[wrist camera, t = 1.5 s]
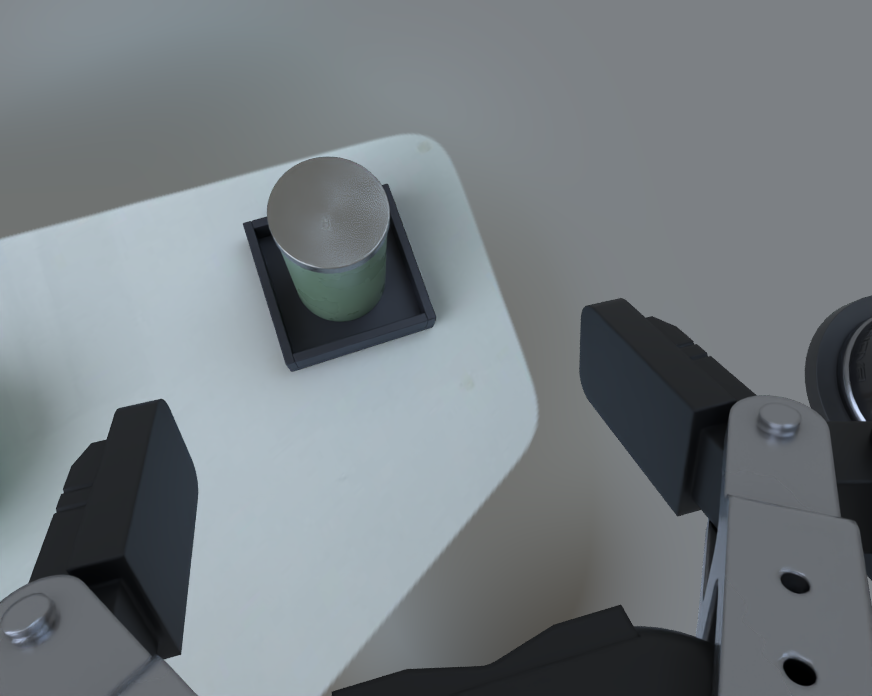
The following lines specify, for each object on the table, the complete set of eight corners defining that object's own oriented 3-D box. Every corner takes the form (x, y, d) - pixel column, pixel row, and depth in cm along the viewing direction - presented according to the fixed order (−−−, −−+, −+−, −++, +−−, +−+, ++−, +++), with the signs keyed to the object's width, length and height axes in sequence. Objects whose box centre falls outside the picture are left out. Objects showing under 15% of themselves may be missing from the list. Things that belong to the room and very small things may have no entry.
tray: (387, 198, 38) (387, 183, 36) (433, 327, 37) (436, 317, 35) (249, 237, 37) (242, 223, 35) (291, 372, 35) (286, 365, 33)
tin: (402, 260, 37) (410, 188, 28) (360, 339, 35) (355, 289, 27) (321, 221, 37) (303, 136, 28) (276, 298, 36) (243, 234, 27)
